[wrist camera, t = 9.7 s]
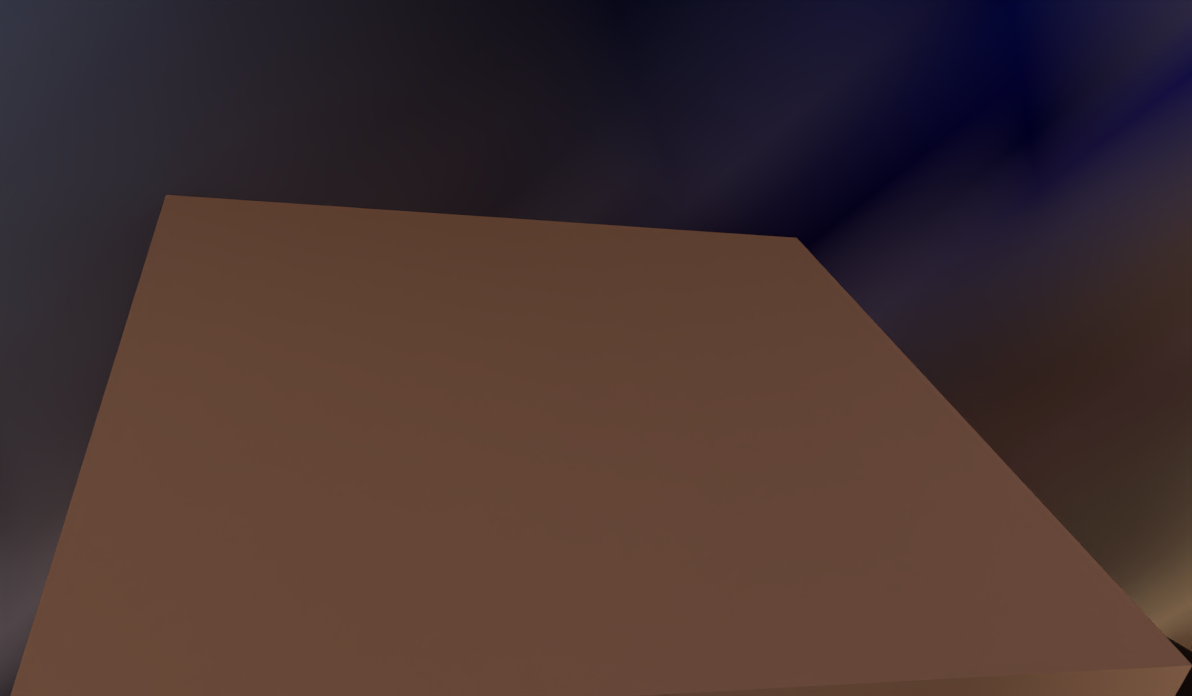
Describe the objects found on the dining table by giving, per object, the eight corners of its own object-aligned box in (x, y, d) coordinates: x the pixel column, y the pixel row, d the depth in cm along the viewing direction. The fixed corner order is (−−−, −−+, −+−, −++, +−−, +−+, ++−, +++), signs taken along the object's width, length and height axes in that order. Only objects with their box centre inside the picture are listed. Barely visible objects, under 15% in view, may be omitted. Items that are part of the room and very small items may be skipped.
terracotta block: (792, 234, 9) (1192, 665, 5) (677, 663, 12) (885, 1204, 7) (167, 190, 8) (-3, 732, 4) (179, 686, 10) (84, 1366, 6)
